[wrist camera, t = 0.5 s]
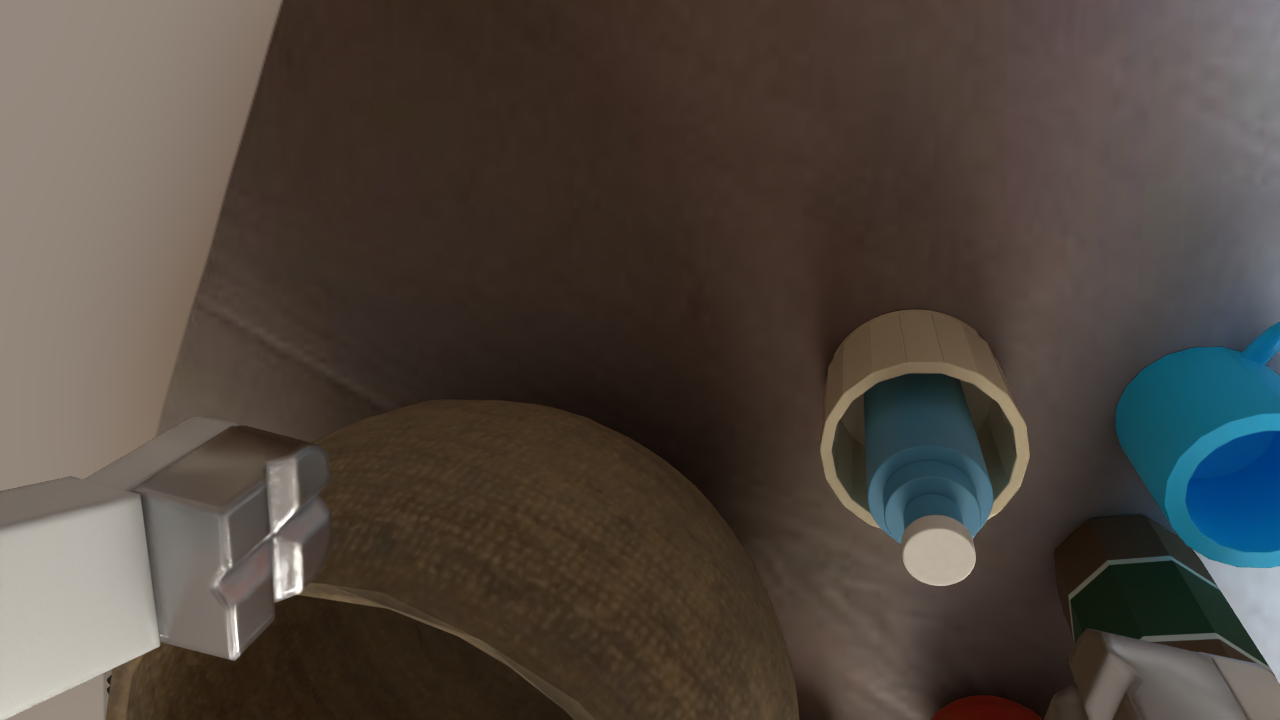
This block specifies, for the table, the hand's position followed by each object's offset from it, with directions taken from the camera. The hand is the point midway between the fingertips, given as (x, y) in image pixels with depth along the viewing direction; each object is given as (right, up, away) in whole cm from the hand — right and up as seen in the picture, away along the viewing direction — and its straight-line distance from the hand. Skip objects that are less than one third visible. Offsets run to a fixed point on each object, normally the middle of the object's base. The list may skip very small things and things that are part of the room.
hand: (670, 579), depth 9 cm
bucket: (+15, +1, +39) cm, 42 cm away
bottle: (+15, 0, +39) cm, 42 cm away
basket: (-6, -12, +50) cm, 52 cm away
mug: (+31, +1, +36) cm, 47 cm away
